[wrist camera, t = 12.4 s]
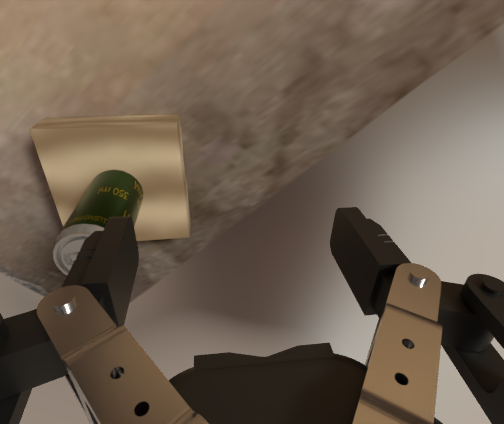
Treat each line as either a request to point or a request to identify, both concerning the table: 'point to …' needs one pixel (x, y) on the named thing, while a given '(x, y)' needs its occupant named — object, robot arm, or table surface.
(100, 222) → the beer can
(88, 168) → the oak pedestal
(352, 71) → the table surface
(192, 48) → the table surface
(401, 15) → the table surface
